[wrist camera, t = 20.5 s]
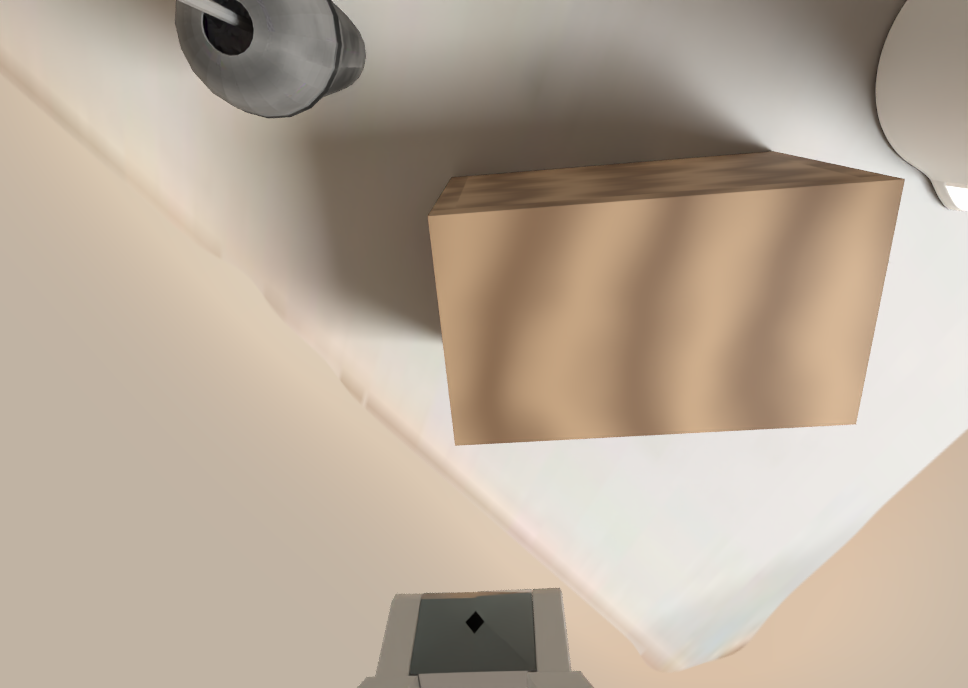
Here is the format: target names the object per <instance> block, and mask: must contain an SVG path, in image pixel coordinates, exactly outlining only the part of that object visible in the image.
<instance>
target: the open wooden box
mask: <svg viewBox="0 0 968 688" xmlns="http://www.w3.org/2000/svg"><path fill="white" fill-rule="evenodd" d="M904 180H905V179H902V178H897V177H892V176H887V175H883V174H878V173H873V172H868V171H864V170H859V169H854V168H850V167H845V166H840V165H835V164H831V163H826V162H821V161H817V160H812V159H807V158H802V157H798V156H793V155H788V154H783V153H779V152H774V151H770V152H758V153H746V154H734V155H721V156H709V157H697V158H685V159H672V160H660V161H648V162H636V163H623V164H611V165H599V166H587V167H574V168H562V169H550V170H538V171H525V172H513V173H501V174H489V175H476V176H464V177H452V178H451V179H450V181H449V182H448V184H447V186H446V187H445V189H444V190H443V192H442V194H441V195H440V197H439V199H438V200H437V202H436V203H435V205H434V207H433V208H432V210H431V212H430V213H429V215H428V224H429V232H430V240H431V249H432V257H433V265H434V274H435V282H436V290H437V299H438V307H439V315H440V323H441V332H442V340H443V348H444V357H445V365H446V373H447V381H448V390H449V398H450V406H451V415H452V423H453V431H454V440H455V446H456V445H475V444H494V443H513V442H531V441H550V440H569V439H588V438H607V437H625V436H644V435H663V434H682V433H700V432H719V431H738V430H757V429H775V428H794V427H813V426H832V425H850V424H856V421H857V416H858V411H859V406H860V401H861V396H862V391H863V386H864V381H865V376H866V371H867V366H868V361H869V356H870V351H871V346H872V341H873V336H874V331H875V326H876V321H877V316H878V311H879V306H880V301H881V296H882V291H883V286H884V281H885V276H886V271H887V266H888V261H889V255H890V250H891V245H892V240H893V235H894V230H895V225H896V220H897V215H898V210H899V205H900V200H901V195H902V190H903V185H904Z"/></svg>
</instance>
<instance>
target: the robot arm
mask: <svg viewBox="0 0 968 688" xmlns="http://www.w3.org/2000/svg"><path fill="white" fill-rule="evenodd" d="M876 106H877V112H878V116H879V121H880V124H881V127H882V129H883V131H884V134H885V136H886V138H887V139H888V141H889V143H890V144H891V146H892V147H893V148H894V150H895V151H896V152H897V153H898V154H899V155H900V156H901V157H902V158H903V159H904V160H905V161H907V162H908V163H909V164H911V165H912V166H914V167H915V168H917V169H918V170H920V171H921V172H923V173H924V174H925V175H926V176H927V177H928V178H929V179H930V180H931V182H932V184H933V186H934V189H935V191H936V193H937V195H938V197H939V198H940V200H941V202H942V203H943V205H944V206H945V207H947V208H948V209H950V210H955V211H968V0H907V1H906V3H905V4H904V6H903V7H902V9H901V10H900V12H899V14H898V16H897V17H896V19H895V21H894V23H893V25H892V27H891V29H890V31H889V34H888V36H887V39H886V41H885V44H884V47H883V50H882V53H881V57H880V60H879V65H878V70H877V77H876ZM532 598H533V601H532ZM533 614H534V615H533ZM534 630H535V631H534ZM357 688H594V687H593V686H592V685H591V683H590V682H589V681H588V680H587V679H586V678H585V676H584V675H583V674H582V673H581V671H571V663H570V656H569V647H568V638H567V630H566V622H565V614H564V605H563V597H562V592H561V590H560V588H547V589H533V590H532V589H524V590H503V591H481V592H465V593H421V594H420V593H419V594H396V595H395V597H394V599H393V600H392V603H391V608H390V612H389V617H388V621H387V625H386V630H385V635H384V639H383V644H382V649H381V653H380V657H379V662H378V666H377V671H376V675H375V677H367V678H365V680H364V681H363V682H362V683H361V684H360V685H359V686H358V687H357Z"/></svg>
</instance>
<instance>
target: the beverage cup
mask: <svg viewBox="0 0 968 688" xmlns="http://www.w3.org/2000/svg"><path fill="white" fill-rule="evenodd" d="M175 25H176V29H177V33H178V38H179V42H180V46H181V49H182V51H183V53H184V55H185V57H186V59H187V61H188V62H189V64H190V66H191V68H192V70H193V71H194V73H195V74H196V75H197V76H198V77H199V78H200V79H201V80H202V82H203V83H204V84H205V85H206V86H207V87H208V88H209V89H210V90H211V91H212V93H214V94H215V95H217V96H219V97H220V98H222V99H223V100H225V101H226V102H228V103H230V104H231V105H233V106H234V107H236V108H238V109H241V110H243V111H245V112H247V113H251V114H254V115H258V116H262V117H265V118H283V117H292V116H294V115H297V114H299V113H301V112H303V111H306V110H308V109H310V108H312V107H313V106H314V105H315V104H316V103H317V102H318V101H319V100H320V99H321V98H322V97H324V96H327V95H330V94H332V93H335V92H338V91H340V90H342V89H345V88H347V87H348V86H350V85H352V84H353V83H354V82H355V81H356V80H357V79H358V78H359V76H360V74H361V72H362V70H363V68H364V64H365V58H366V53H365V45H364V42H363V39H362V37H361V34H360V32H359V31H358V29H357V28H356V27H355V25H354V24H353V23H352V21H351V20H350V19H349V18H348V17H347V16H346V15H345V14H344V13H343V12H342V11H341V10H340V9H339V8H338V7H337V6H336V5H335V4H334V3H333V2H332V1H331V0H176V13H175Z"/></svg>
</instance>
